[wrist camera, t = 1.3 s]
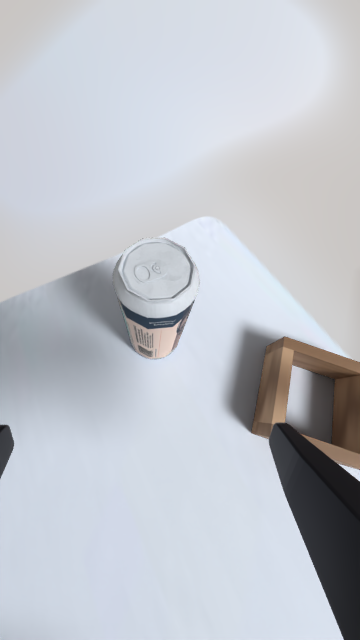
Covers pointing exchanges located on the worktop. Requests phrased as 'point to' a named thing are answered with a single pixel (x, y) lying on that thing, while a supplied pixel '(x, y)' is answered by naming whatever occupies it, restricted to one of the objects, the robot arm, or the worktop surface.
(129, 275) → the beer can
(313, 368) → the socket block
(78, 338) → the worktop surface
